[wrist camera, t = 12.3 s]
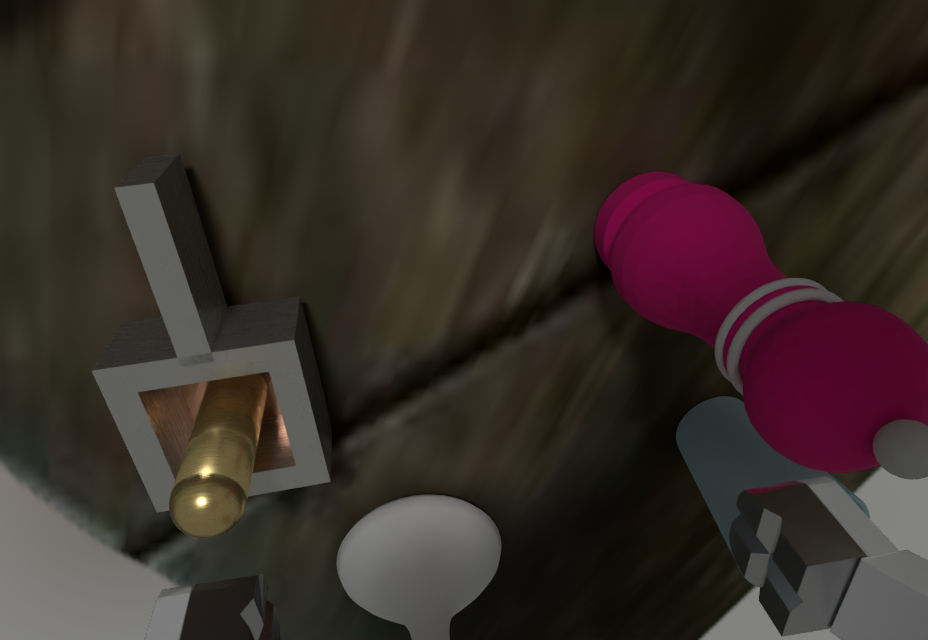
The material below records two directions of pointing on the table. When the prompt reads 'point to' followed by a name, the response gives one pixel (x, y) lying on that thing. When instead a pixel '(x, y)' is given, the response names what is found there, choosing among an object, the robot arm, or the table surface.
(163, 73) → the table surface
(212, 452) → the post
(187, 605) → the robot arm
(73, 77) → the table surface
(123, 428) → the steel link
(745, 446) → the cup
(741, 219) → the pepper mill
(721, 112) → the table surface
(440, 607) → the flower in vase
